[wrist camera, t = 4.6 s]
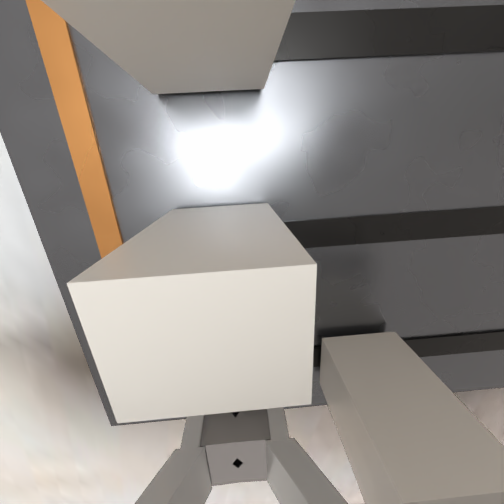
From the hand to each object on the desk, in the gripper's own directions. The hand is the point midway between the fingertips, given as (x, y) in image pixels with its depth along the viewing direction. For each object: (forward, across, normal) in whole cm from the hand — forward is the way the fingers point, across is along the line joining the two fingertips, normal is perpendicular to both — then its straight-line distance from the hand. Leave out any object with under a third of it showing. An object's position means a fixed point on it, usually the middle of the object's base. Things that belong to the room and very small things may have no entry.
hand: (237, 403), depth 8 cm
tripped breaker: (+2, -5, 0) cm, 5 cm away
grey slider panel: (+4, -5, -5) cm, 8 cm away
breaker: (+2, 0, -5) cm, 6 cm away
